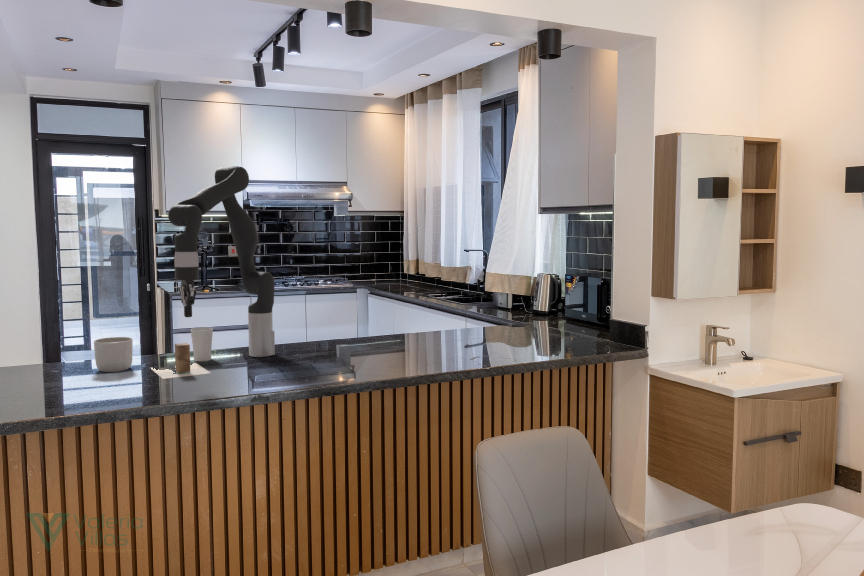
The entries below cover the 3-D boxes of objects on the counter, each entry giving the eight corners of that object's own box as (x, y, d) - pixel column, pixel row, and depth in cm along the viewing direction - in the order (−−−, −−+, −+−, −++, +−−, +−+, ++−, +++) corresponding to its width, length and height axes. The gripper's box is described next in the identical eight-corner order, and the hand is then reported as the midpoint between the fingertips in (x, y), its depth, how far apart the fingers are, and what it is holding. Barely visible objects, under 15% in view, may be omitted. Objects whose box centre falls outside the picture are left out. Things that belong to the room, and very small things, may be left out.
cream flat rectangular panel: (195, 363, 248) (195, 362, 248) (211, 373, 232) (211, 373, 232) (149, 368, 239) (149, 367, 239) (162, 379, 223) (162, 378, 223)
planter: (114, 375, 228) (112, 343, 227) (86, 372, 233) (85, 341, 232) (141, 368, 240) (140, 338, 239) (114, 365, 244) (113, 335, 243)
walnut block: (187, 370, 235) (186, 342, 234) (190, 372, 232) (189, 344, 231) (175, 372, 233) (174, 343, 232) (178, 374, 230) (177, 345, 229)
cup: (206, 362, 250) (205, 331, 249) (187, 361, 252) (186, 330, 250) (217, 358, 258) (216, 327, 257) (198, 357, 259) (197, 326, 258)
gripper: (203, 266, 218) (205, 318, 220) (192, 263, 229) (194, 313, 230) (180, 266, 214) (181, 320, 215) (170, 264, 225) (171, 315, 226)
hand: (188, 316), depth 223 cm, fingers closed
